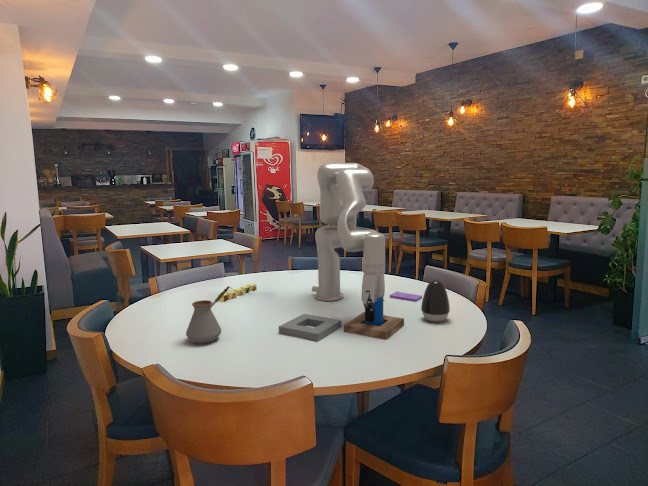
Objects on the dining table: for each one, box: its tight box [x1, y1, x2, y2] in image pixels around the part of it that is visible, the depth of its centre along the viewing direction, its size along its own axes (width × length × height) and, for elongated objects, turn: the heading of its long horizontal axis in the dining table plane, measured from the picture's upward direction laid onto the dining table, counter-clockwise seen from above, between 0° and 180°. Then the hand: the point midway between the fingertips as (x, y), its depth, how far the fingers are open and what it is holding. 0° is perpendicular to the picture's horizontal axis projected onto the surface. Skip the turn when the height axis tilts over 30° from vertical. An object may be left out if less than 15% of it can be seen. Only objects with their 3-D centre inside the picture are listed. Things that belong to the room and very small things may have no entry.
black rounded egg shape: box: [420, 278, 451, 323], centre depth 167 cm, size 10×10×15 cm
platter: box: [217, 283, 258, 303], centre depth 206 cm, size 32×32×3 cm
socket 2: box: [343, 311, 405, 340], centre depth 160 cm, size 16×16×2 cm
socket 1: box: [278, 313, 343, 342], centre depth 159 cm, size 16×16×2 cm
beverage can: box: [365, 295, 384, 326], centre depth 159 cm, size 6×6×12 cm
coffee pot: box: [185, 285, 233, 345], centre depth 155 cm, size 21×12×15 cm, turn 155°
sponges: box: [389, 291, 423, 303], centre depth 197 cm, size 7×13×2 cm, turn 55°
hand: (374, 317), depth 159 cm, fingers closed on beverage can, 6 cm apart
